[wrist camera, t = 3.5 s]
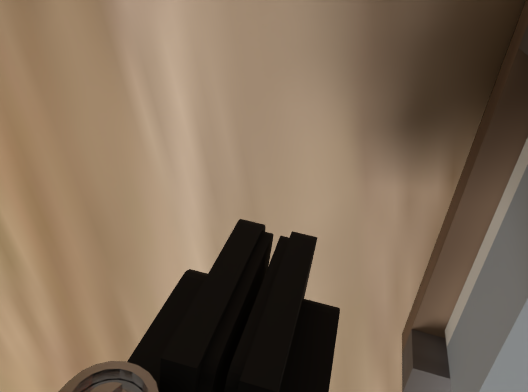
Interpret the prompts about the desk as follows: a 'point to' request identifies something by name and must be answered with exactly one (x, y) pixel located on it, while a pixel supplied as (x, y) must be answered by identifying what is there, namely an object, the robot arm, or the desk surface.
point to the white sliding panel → (495, 301)
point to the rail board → (468, 220)
